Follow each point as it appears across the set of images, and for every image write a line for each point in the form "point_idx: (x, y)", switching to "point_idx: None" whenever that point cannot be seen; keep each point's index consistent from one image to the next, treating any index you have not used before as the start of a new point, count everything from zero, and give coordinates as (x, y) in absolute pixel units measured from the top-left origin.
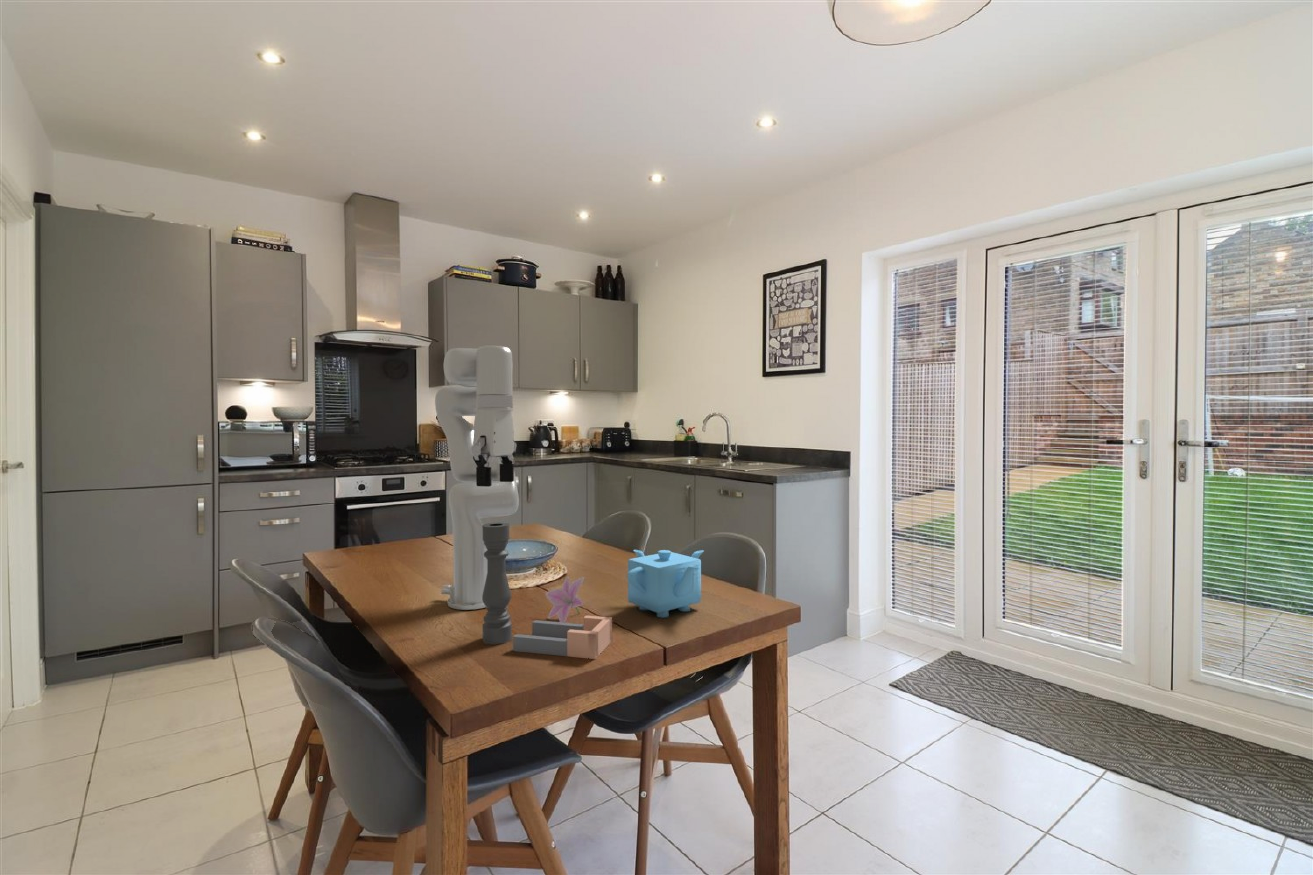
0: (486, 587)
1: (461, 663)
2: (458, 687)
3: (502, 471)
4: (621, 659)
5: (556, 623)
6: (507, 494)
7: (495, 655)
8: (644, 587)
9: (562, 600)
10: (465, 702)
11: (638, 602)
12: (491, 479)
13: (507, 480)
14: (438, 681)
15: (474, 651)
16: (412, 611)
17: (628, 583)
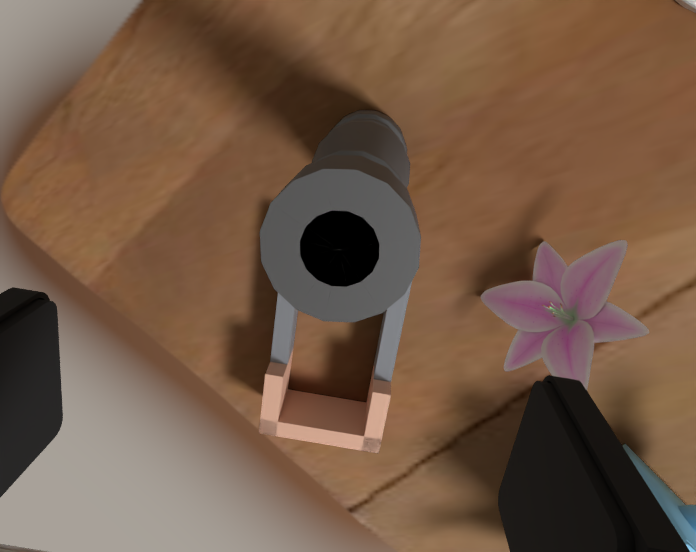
0: (322, 152)
1: (198, 118)
2: (80, 167)
3: (563, 491)
4: (277, 444)
5: (394, 312)
6: None
7: (258, 185)
8: None
9: (574, 296)
10: (26, 208)
11: None
12: (11, 476)
13: (509, 465)
14: (94, 107)
15: (275, 120)
16: None
17: (646, 481)
